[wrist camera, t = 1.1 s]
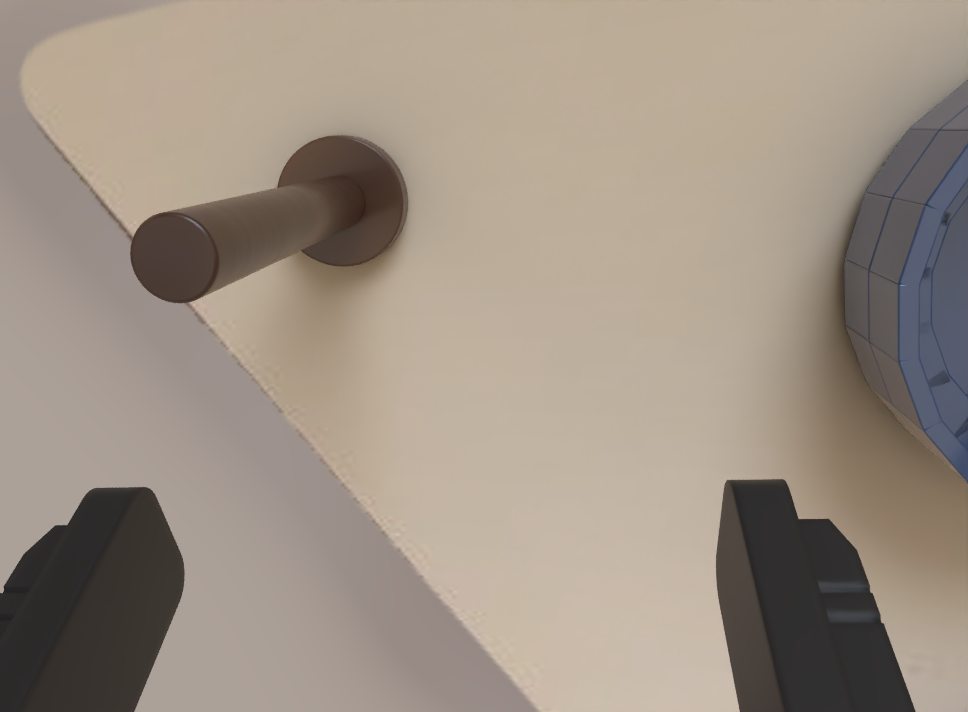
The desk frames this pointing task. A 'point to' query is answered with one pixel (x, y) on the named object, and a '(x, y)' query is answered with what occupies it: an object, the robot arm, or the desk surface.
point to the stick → (278, 222)
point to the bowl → (917, 282)
